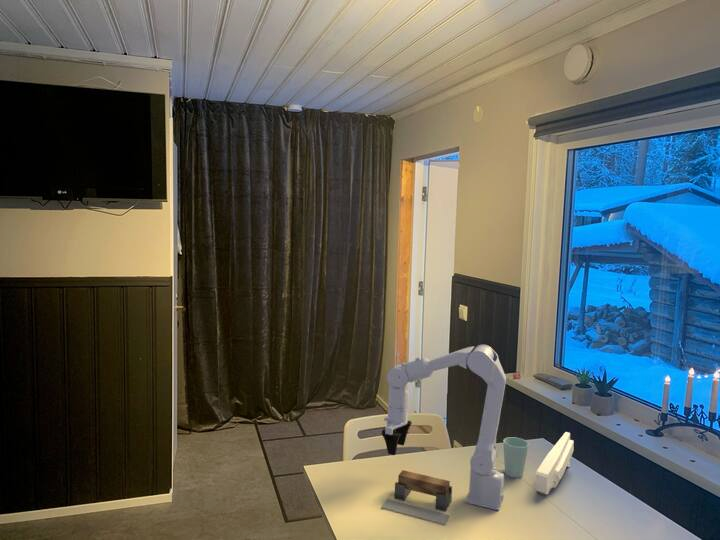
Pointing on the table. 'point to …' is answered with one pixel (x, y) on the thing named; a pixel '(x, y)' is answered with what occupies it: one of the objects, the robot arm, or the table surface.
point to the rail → (423, 483)
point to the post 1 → (401, 491)
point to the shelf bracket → (554, 464)
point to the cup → (515, 456)
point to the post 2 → (443, 500)
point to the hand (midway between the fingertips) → (396, 449)
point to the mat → (416, 511)
